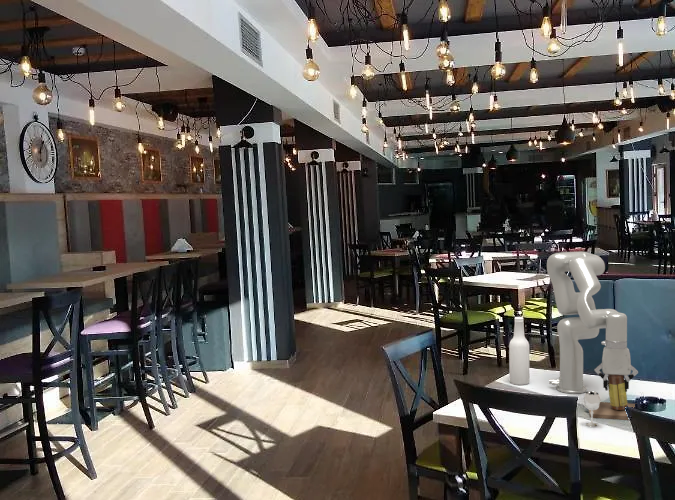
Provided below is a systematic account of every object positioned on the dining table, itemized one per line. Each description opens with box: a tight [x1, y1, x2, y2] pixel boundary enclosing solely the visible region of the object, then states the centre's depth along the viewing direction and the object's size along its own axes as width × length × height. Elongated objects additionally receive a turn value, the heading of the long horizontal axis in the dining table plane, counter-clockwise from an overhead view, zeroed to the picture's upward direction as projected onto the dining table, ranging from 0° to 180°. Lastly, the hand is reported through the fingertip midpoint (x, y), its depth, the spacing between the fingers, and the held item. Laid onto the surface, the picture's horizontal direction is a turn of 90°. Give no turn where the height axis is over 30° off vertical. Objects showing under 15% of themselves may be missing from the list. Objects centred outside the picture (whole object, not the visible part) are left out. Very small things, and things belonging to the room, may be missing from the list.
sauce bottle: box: [607, 375, 628, 410], centre depth 257 cm, size 6×6×20 cm
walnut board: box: [587, 401, 636, 421], centre depth 258 cm, size 20×16×2 cm
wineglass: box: [583, 390, 601, 428], centre depth 245 cm, size 6×6×12 cm
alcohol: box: [508, 316, 531, 386], centre depth 301 cm, size 9×9×30 cm
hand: (615, 389), depth 257 cm, fingers open, 6 cm apart
